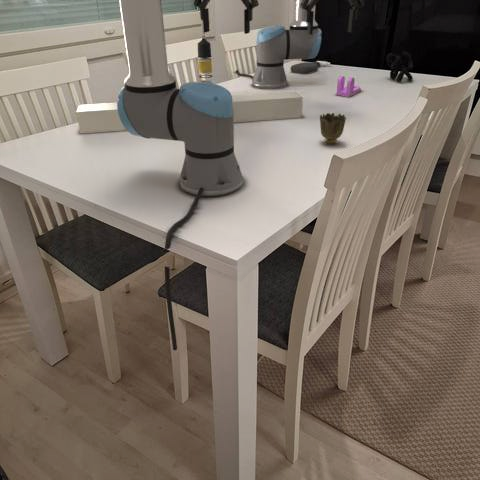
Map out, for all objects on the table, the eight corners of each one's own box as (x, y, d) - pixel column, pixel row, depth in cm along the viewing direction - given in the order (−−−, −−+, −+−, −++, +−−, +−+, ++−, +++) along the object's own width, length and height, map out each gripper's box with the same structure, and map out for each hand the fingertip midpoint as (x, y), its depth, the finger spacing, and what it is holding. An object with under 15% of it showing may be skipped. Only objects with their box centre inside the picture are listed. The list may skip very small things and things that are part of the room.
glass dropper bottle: (214, 91, 188) (211, 12, 172) (202, 93, 186) (197, 13, 170) (210, 88, 192) (206, 11, 176) (198, 90, 190) (193, 11, 175)
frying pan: (288, 71, 219) (314, 64, 235) (307, 74, 213) (332, 66, 229) (288, 65, 217) (314, 58, 233) (307, 68, 211) (333, 60, 228)
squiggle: (400, 92, 202) (376, 71, 205) (417, 76, 202) (392, 56, 205) (405, 81, 191) (380, 59, 194) (423, 64, 191) (397, 42, 194)
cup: (314, 144, 132) (316, 118, 127) (322, 137, 137) (324, 111, 133) (339, 148, 129) (341, 121, 124) (346, 140, 134) (349, 114, 130)
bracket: (349, 96, 177) (351, 78, 174) (336, 94, 180) (337, 76, 177) (362, 90, 186) (364, 72, 182) (350, 88, 189) (352, 71, 185)
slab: (80, 133, 145) (76, 112, 141) (83, 125, 152) (79, 104, 148) (301, 117, 155) (302, 97, 152) (294, 110, 163) (295, 91, 159)
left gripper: (269, -50, 126) (268, 32, 138) (190, -48, 134) (195, 29, 145) (261, -51, 120) (260, 35, 132) (179, -48, 128) (185, 32, 140)
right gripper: (299, -46, 126) (296, 36, 137) (382, -47, 129) (372, 32, 141) (292, -46, 132) (289, 33, 143) (370, -47, 136) (362, 30, 147)
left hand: (226, 32), depth 139 cm, fingers open, 13 cm apart
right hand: (330, 33), depth 142 cm, fingers open, 13 cm apart
